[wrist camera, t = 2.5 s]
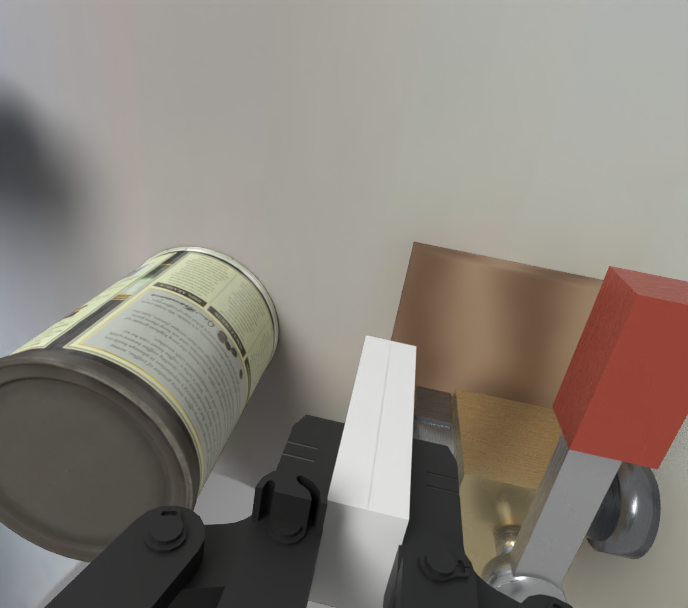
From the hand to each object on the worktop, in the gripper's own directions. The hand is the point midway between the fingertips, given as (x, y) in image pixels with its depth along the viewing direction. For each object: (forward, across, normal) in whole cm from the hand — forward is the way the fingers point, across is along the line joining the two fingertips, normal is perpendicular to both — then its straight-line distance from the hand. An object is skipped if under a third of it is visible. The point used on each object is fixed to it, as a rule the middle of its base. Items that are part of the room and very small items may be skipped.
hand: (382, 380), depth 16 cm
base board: (+15, +8, -10) cm, 20 cm away
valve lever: (+3, +8, -4) cm, 9 cm away
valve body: (+13, +8, -10) cm, 18 cm away
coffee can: (+15, -11, -8) cm, 21 cm away
